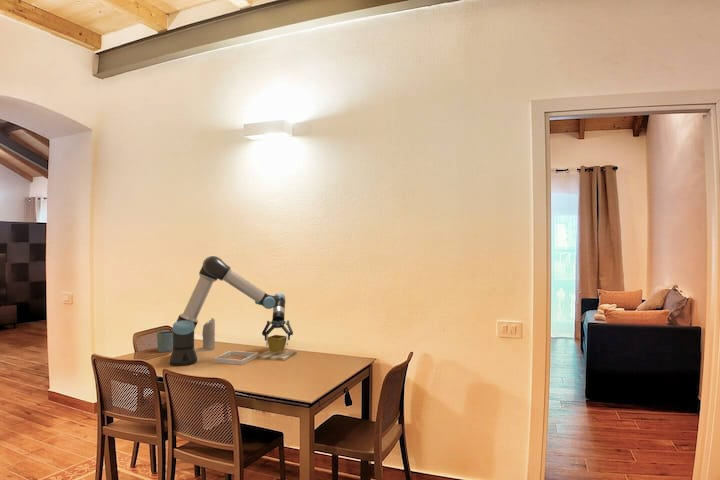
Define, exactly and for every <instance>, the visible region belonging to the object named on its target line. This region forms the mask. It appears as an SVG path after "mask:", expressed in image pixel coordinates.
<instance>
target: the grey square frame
mask: <svg viewBox="0 0 720 480" xmlns="http://www.w3.org/2000/svg"><path fill="white" fill-rule="evenodd" d="M258 355H259V352H251V351H242V350H241V351H240V350H229V351H226V352H224V353H222V354H220V355H217V356H215V357H213V358H212V363H214V364H227V365H239V366H242V365H245V364H247V363H249V362H251V361H252V360H255V359H257V356H258ZM230 356H238V357H239V356H240V357H245V358H243V359H234V358H229V357H230Z"/></svg>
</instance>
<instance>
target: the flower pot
mask: <svg viewBox="0 0 720 480" xmlns="http://www.w3.org/2000/svg"><path fill="white" fill-rule="evenodd" d="M286 341H287V335H279V334H274V335H271V336H268V346H267V347H268V349H269V350H271V351H272V352H280V351H283V350H285V347H286V346H287V344H286Z"/></svg>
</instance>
